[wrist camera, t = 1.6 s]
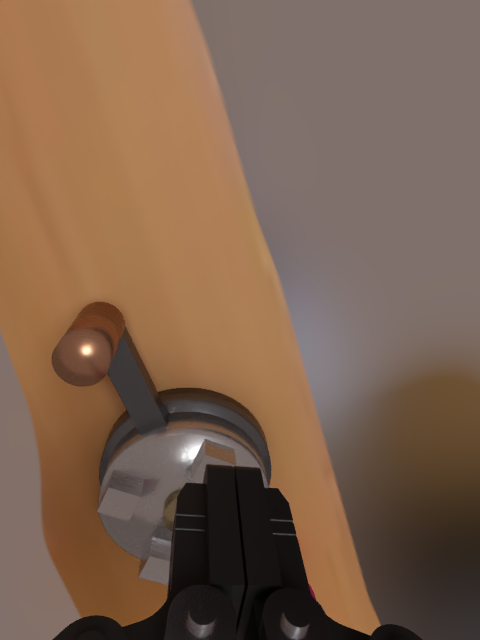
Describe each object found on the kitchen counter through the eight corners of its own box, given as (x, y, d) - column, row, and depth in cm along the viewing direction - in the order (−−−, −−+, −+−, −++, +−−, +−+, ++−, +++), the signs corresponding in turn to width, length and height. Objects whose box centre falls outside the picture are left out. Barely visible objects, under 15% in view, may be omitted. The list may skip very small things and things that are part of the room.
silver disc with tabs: (286, 490, 35) (291, 510, 33) (145, 537, 36) (142, 559, 34) (236, 364, 30) (239, 379, 29) (75, 420, 31) (67, 438, 29)
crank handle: (283, 509, 33) (300, 581, 27) (145, 555, 33) (134, 634, 28) (184, 265, 25) (180, 298, 20) (8, 328, 26) (-43, 377, 20)
